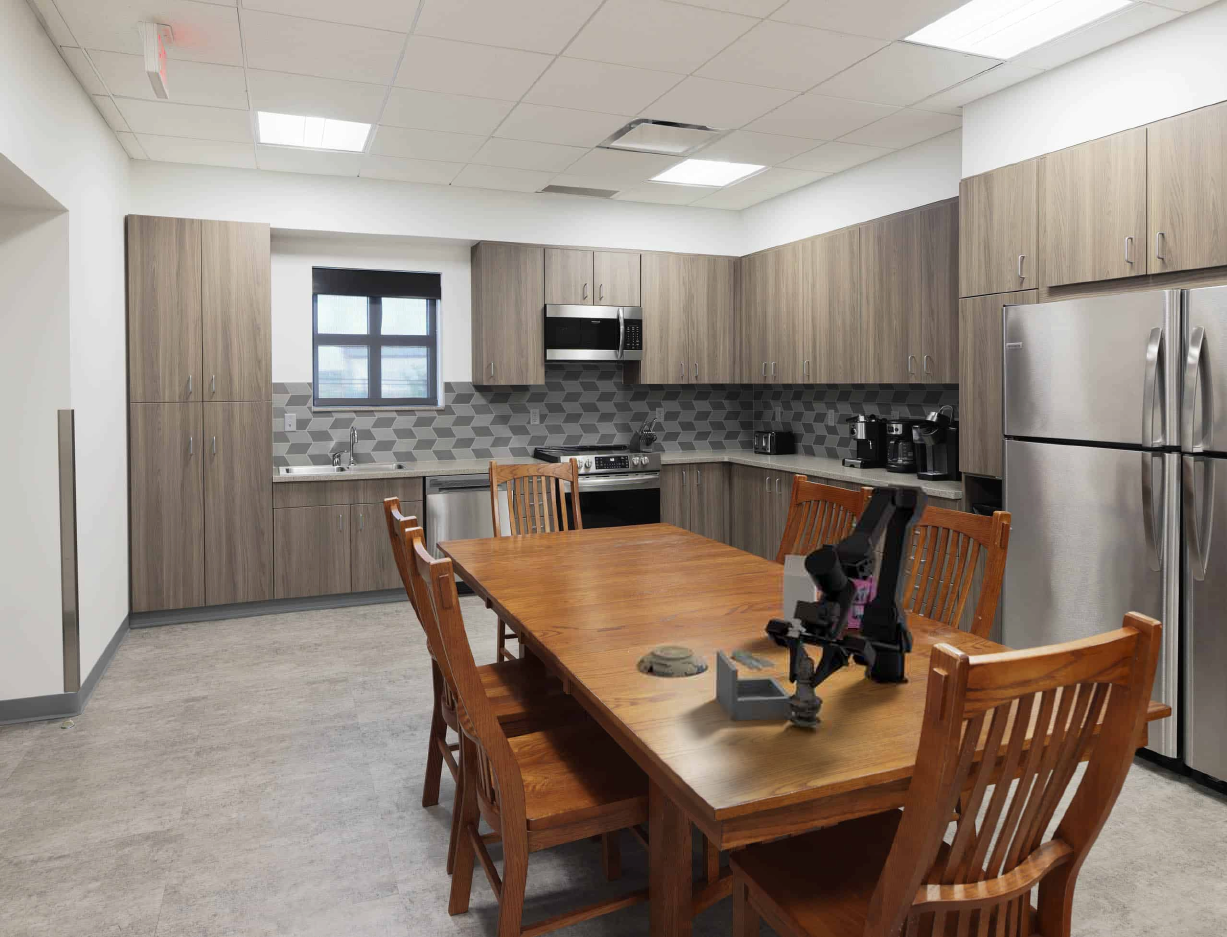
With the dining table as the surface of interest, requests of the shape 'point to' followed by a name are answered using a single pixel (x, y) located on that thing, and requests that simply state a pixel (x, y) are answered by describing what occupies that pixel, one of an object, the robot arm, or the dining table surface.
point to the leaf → (751, 660)
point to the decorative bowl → (673, 662)
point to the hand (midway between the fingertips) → (801, 684)
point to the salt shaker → (805, 695)
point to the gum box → (861, 600)
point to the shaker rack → (749, 694)
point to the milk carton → (796, 588)
